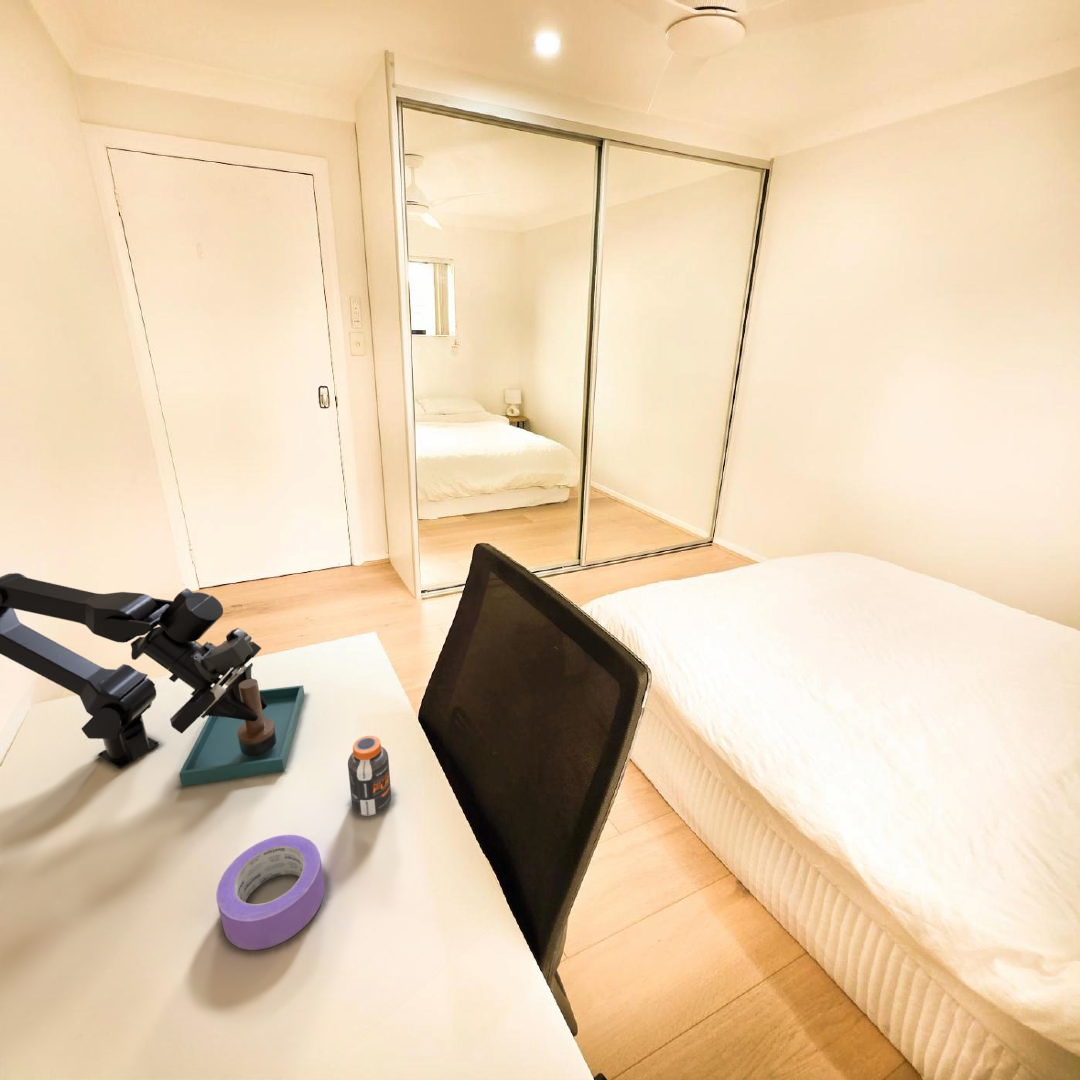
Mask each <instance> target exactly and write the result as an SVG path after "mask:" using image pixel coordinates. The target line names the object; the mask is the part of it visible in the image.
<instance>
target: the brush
mask: <svg viewBox="0 0 1080 1080" xmlns="http://www.w3.org/2000/svg"><path fill="white" fill-rule="evenodd" d="M259 690H260V687H259V681H258V679H255V678H252V679H247V680H244V681H242V682H241V683H240V684H239V691H240V696H241V701H242V702H243V703H244V704H245V705H247V706H248V707H249V708H250V709H252V710H253V711H254V712H255V713H256V714H257V715H258V716H259V718H258V719H257V720H256V721H254V722H253V721H247V720H245V723H244V724H243V725H242V726H241V727H240V728H239V729H238V732H237V734H238V739H239V745H240V750H241V752H242V753H243V754H244V755H247V756H256V755H260V754H263V753H265V752H267V751H269V750H270V749H271V748H272V747H273V746H274V745H275V744H276V733H275V727H274V722H273V721H272V720H271V719H269V718H264V717H263V711H262V705H261V699H260V693H259Z"/></svg>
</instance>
